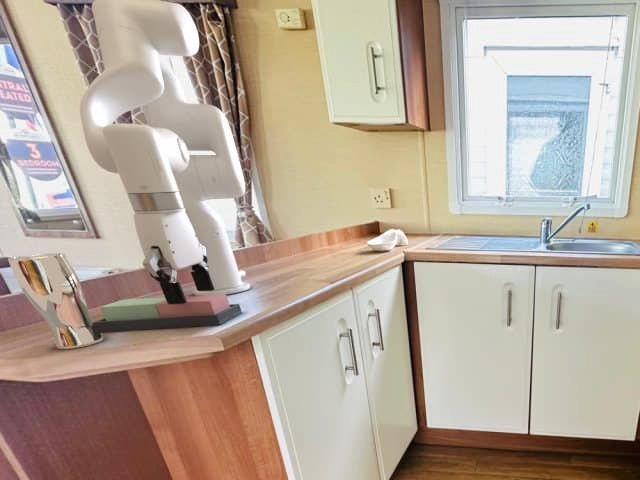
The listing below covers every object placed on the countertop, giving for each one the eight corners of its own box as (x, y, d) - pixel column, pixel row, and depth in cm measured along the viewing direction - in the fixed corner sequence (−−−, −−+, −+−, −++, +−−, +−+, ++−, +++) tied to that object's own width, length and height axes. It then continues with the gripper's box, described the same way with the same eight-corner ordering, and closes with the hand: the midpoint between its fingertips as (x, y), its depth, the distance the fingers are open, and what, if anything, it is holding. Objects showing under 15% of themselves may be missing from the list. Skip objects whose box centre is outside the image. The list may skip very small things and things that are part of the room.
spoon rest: (389, 252, 167) (386, 233, 164) (363, 252, 170) (359, 234, 167) (415, 244, 188) (412, 227, 185) (391, 245, 190) (388, 228, 187)
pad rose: (182, 315, 88) (175, 296, 86) (232, 312, 88) (226, 293, 87) (163, 324, 82) (155, 303, 81) (216, 320, 83) (209, 300, 81)
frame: (130, 319, 88) (125, 310, 87) (242, 313, 90) (239, 303, 89) (96, 332, 80) (92, 322, 80) (220, 325, 82) (216, 315, 81)
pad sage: (131, 318, 87) (122, 299, 85) (181, 315, 88) (174, 296, 86) (108, 327, 82) (99, 307, 80) (162, 324, 82) (154, 303, 81)
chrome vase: (102, 334, 79) (63, 251, 73) (110, 341, 75) (69, 254, 68) (51, 345, 74) (4, 257, 68) (56, 353, 70) (6, 261, 64)
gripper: (166, 201, 84) (197, 287, 91) (98, 208, 68) (143, 310, 76) (206, 200, 84) (233, 285, 92) (147, 206, 69) (186, 308, 77)
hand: (192, 296), depth 84 cm, fingers open, 9 cm apart
